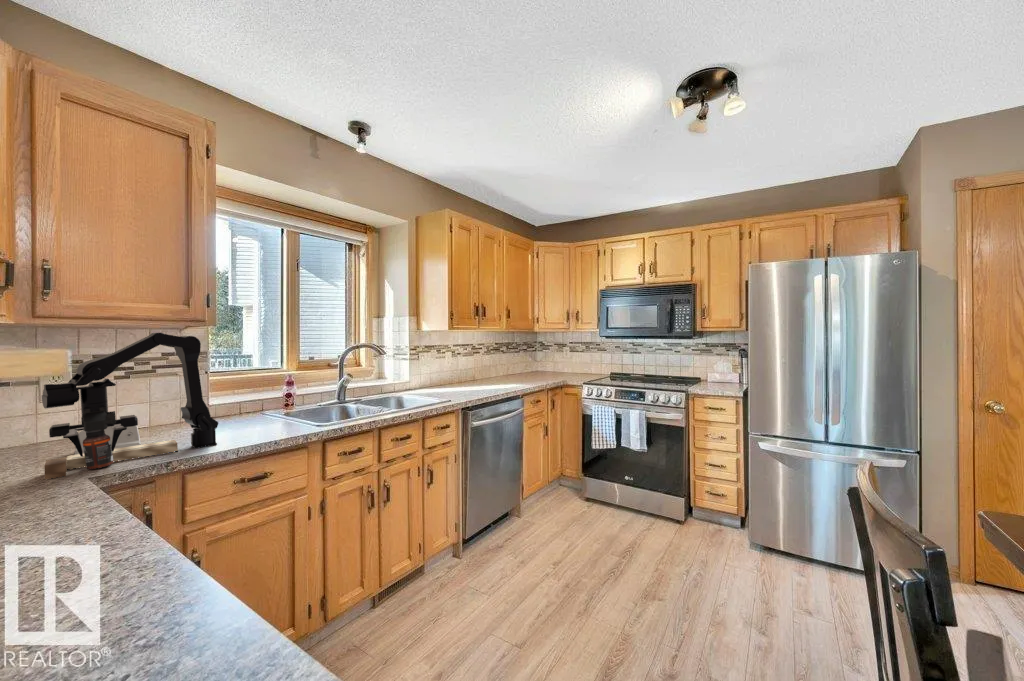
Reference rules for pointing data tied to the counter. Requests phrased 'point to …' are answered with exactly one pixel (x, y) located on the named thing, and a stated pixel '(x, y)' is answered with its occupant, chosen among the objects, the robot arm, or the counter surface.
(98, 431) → the supplement bottle
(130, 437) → the grey curved bracket
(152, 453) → the maple board
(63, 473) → the walnut block
